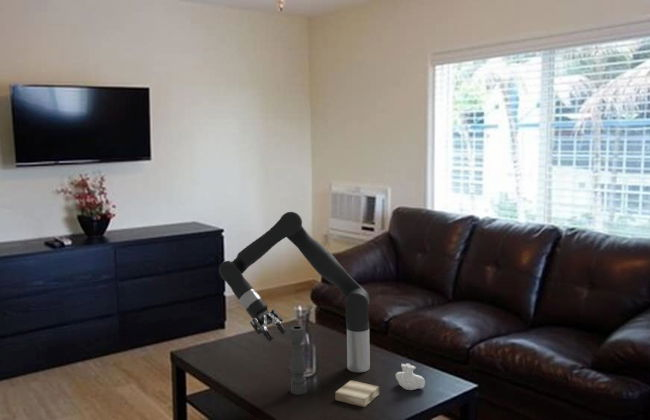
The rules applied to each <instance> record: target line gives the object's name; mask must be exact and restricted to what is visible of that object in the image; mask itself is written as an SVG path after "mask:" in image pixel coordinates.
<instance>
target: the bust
mask: <svg viewBox="0 0 650 420" xmlns="http://www.w3.org/2000/svg"><path fill="white" fill-rule="evenodd" d="M400 367H401V368H402V369H401V370H402V371H398V372H396V373H395V379H396V381H397V382H398V385H399V386H401V387H402V389H404V390H407V391H414V390H417V389H423V388H424V387H425V385H426V380H425V378H424V377H423V376H422V375H418V374H416V373H414V370H415V369H417V367H416V366H414V365H413V364H412V365H411V363H401V366H400Z"/></svg>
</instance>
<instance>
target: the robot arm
mask: <svg viewBox="0 0 650 420" xmlns="http://www.w3.org/2000/svg"><path fill="white" fill-rule="evenodd" d="M285 238H286V239H288V240H289V241H290V242H291V243H292V244H293V245H294V246H295V247H296V248H297V249H298V250H299V251H300V253H301V254H302V256H303V257H304V259H306V260H307V261H308V263H309V264H310V265H311V266H312V268H314V270H315V271H316V272H317V274H318V275H320V276H321V277H322V278H323V279H324V280H326V281H327V282H329V283H330V284H332V285H333V286H335V287H336V288H337V289H338V290H339V291H340V293H341V294H342V295H343V296H344V297H345V304H344V305H345V309H344V310H345V323H346V353H347V354H346V356H347V357H346V358H347V359H346V360H347V361H346V365H347V370H348V371H349V372H352V373H364V372H367V371H369V370H370V367H371V357H370V356H371V355H370V354H371V352H370V351H371V348H370V347H371V346H370V345H371V344H370V322H369V305H370V300H371V299H370V296H369V293H368V292H367V290H366V289H364V288H363V287H362V286H361V285H360V284H359V283H358V282H357V281H356V280H354V278H352V277H351V275H350V274H349V273H348V272H347V270H346V269H345V268H344V267H343V266H342V265H341V263H340V262H339V261H338V259H336V257H335V256H334V255H333V254H332V253H331V252H330V251H329V250H328V248H326V247H325V246H323V245H322V244H321V243H320V242H318V241H317V240H316V239H314V238H313V237H312V236H311V235H310V234H309V232H307V230H306V229H305V228H304V226H303V219H302V217H301V215H299V213H297V212H295V211H288V212H285V213H284V214H282V215H281V216H280V218H279V220H277V222H276V223H275V224H274V225H272V227H270V228H269V230H267V231H266V232H265V233H263V234H262V235H261V236H259V237H258V238H256V239H255V240H253V241H251V242H250V244H248V245H247V246H246V247H243V249H242V250H241V251H239V252H238V253H237V254H236V256H235V257H236V258H234V259H233V260H232V261H231V260H225V261H223V262H221V263H220V264H219V268H218V272H219V275H220V277H221V278H222V280H223V281H225V283H226V284H227V285H228V286H229V288H230V289H231V290H232V292H233V294H234V295H235V296H236V298H237V300H238V301H239V302H240V304H241V306H242V307H243V309H244V310H245V311H246V312H247V314H248V315H249V316H250V318H251V320H250V325H251V326H252V328H253V329H254V330H255V333H257V335H263V336H264V337H265V339H266V340H267V341H269V342H272V341H273V340H274V336H273V335H272V334H271V332H270V330H268V326H269V325H271V326H274V327H276V328H277V330H278V331H279V332H280V334H281V335H285V333H287V329H286V328H285V326H284V325H283V324H282V322H283V321H284V319H283V317H281V315H280V314H279V313H278V312H277V311H276V309H274V308H273V309H272V310H271V311H269V310H268V307H269V306H268V305H267V303H266V302H265V301H264V299H262V297H261V296H260V295H259V293H258V292H257V291H256V290H255V289H254V287H253V286H252V285H251V284H250V283H249V281H248V280H247V279H246V278H245V277H244V275H243V274H244V273H245V272H246V270H247V269H249V267H250V266H252V265H253V264H255V263H256V262H257V261H259V260H260V259H261V258H262V257H263V256H265V255H266V254H267V253H268V252H269V251H270V250H271V249H272V248H274V246H276V245H277V244H278V243H279V242H281V241H283V240H284V239H285Z"/></svg>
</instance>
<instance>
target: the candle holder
mask: <svg viewBox="0 0 650 420" xmlns="http://www.w3.org/2000/svg"><path fill="white" fill-rule="evenodd" d="M305 329H306V327H305V326H304V325H299V324H296V325H291V326H289V338H290V339H291V341H292V342H291V343H290V345H291V348H292V357H291V361H290V370H289V371H290V372H291V373H292V377H291V378H290V380H291V381H290V393H291V394H293V395H304V394H306V393H307V391H308V382H307V377H305V373H306V371H307V365H306V360H305V356H304V346H305V344H306V343H305V342H304V339H305V337H306V333H305V332H306V330H305Z"/></svg>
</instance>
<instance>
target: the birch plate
mask: <svg viewBox="0 0 650 420" xmlns="http://www.w3.org/2000/svg"><path fill="white" fill-rule="evenodd" d="M334 393H335V395H334V396H335V397H334V398H335V401H337V402H338V401H339V402H342V403H347V404H349V405H350V404H351V405H354V406H359V407H363V408H365V407H367V406H368V404H370V403H372V401H373V400H375V399H376V398H377V396H379V395H380V386H378V385H374V384H369V383H365V382H360V381H356V380H349V381H348V382H346V383H345V384H344V385H342V386H341V387H340V388H338V389H337V390H336V391H335V392H334Z"/></svg>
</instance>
